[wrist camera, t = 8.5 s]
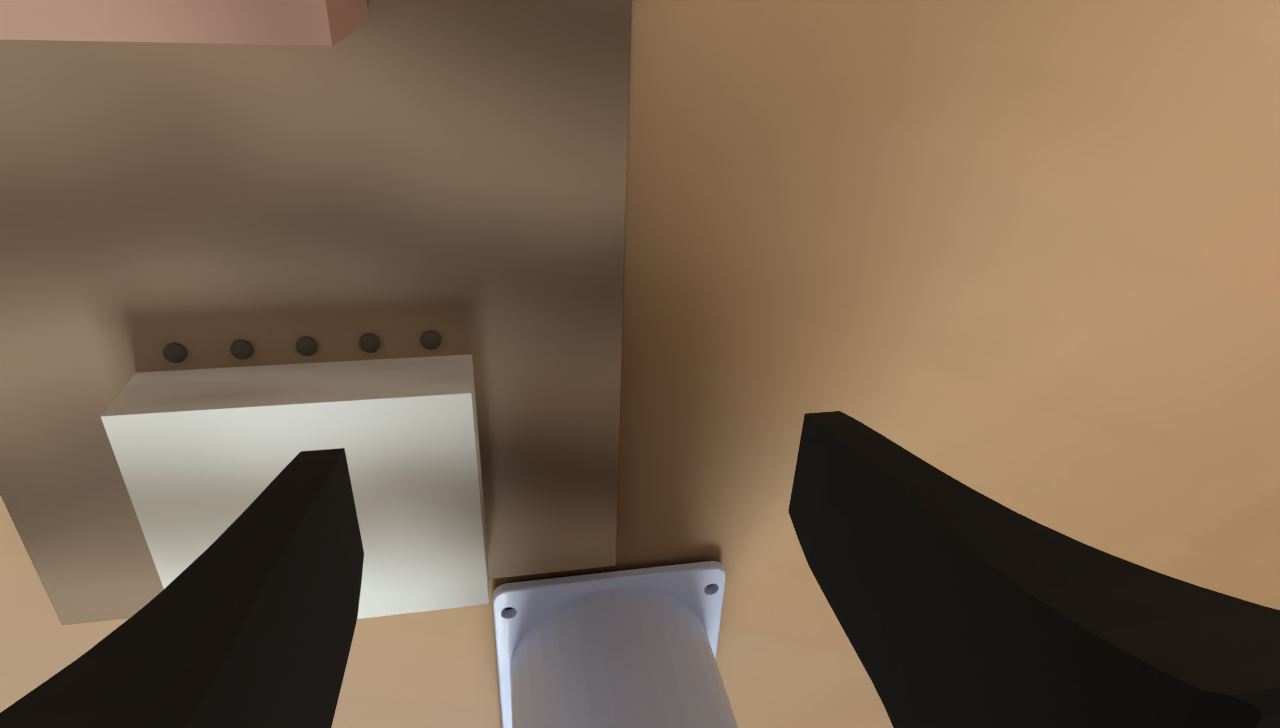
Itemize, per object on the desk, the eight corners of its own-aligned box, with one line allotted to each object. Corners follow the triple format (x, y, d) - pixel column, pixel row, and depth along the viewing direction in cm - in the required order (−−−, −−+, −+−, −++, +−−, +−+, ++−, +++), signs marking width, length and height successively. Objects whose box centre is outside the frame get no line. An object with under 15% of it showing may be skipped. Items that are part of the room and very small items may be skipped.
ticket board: (611, 544, 25) (626, 612, 22) (78, 599, 22) (25, 684, 20) (631, -317, 14) (664, -376, 12) (-381, -429, 12) (-628, -538, 9)
